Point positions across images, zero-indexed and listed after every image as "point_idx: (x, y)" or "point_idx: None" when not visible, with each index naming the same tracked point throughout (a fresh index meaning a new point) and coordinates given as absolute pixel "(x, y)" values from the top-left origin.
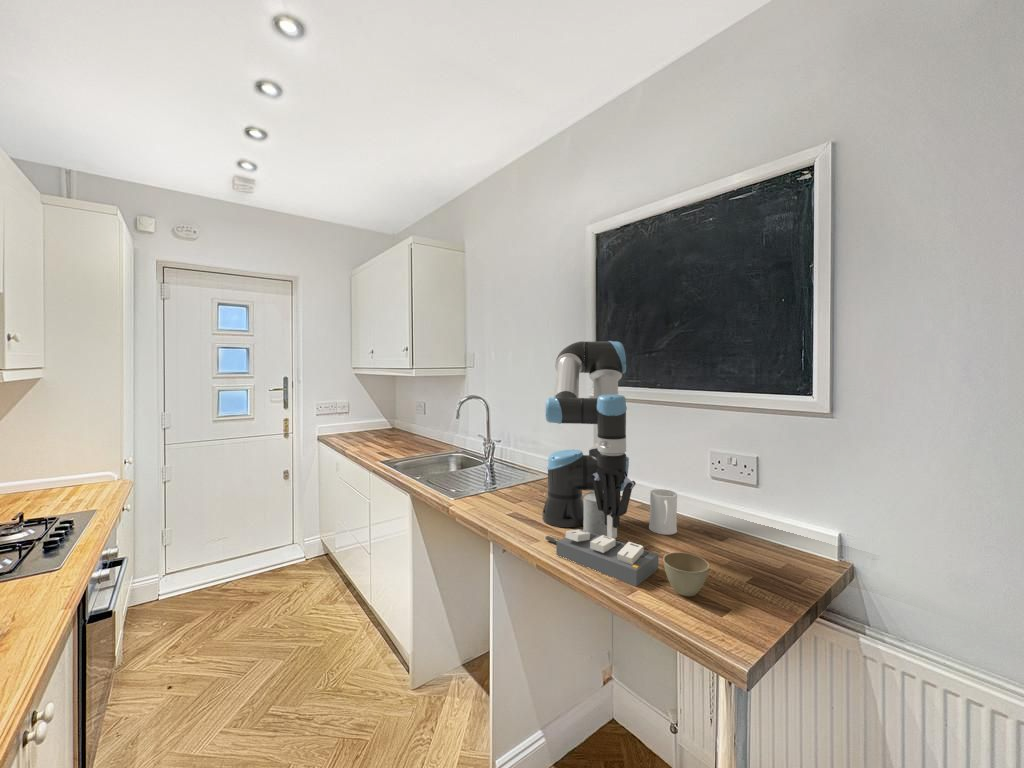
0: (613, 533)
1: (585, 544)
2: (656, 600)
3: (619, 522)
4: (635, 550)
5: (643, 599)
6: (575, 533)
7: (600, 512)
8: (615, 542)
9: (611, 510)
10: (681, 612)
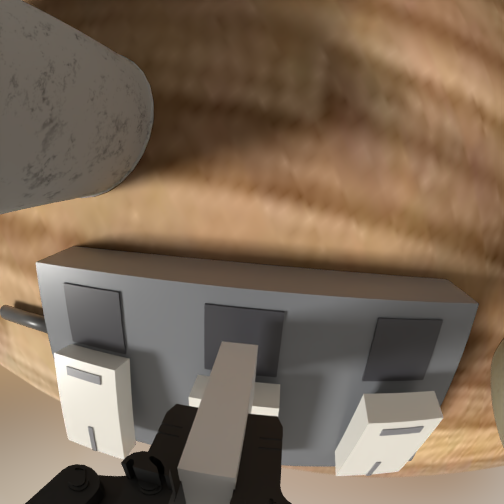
0: (251, 405)
1: (150, 405)
2: (449, 435)
3: (281, 443)
4: (409, 446)
5: (421, 450)
6: (104, 447)
7: (11, 196)
8: (279, 395)
9: (174, 497)
10: (492, 431)
